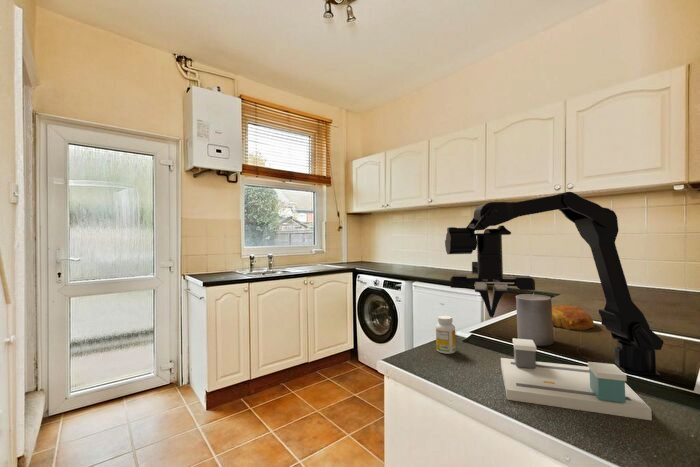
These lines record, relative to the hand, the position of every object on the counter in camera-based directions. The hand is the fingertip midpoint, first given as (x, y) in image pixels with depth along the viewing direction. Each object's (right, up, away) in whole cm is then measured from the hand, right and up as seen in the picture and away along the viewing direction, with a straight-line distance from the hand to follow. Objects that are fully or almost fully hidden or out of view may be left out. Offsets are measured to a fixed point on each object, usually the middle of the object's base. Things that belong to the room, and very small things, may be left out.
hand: (491, 316), depth 80 cm
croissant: (+44, -13, +37) cm, 58 cm away
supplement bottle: (-7, -14, +14) cm, 20 cm away
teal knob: (+14, -10, -18) cm, 25 cm away
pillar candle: (+22, -13, +20) cm, 33 cm away
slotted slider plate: (+11, -13, -11) cm, 20 cm away
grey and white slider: (+7, -11, -3) cm, 13 cm away
